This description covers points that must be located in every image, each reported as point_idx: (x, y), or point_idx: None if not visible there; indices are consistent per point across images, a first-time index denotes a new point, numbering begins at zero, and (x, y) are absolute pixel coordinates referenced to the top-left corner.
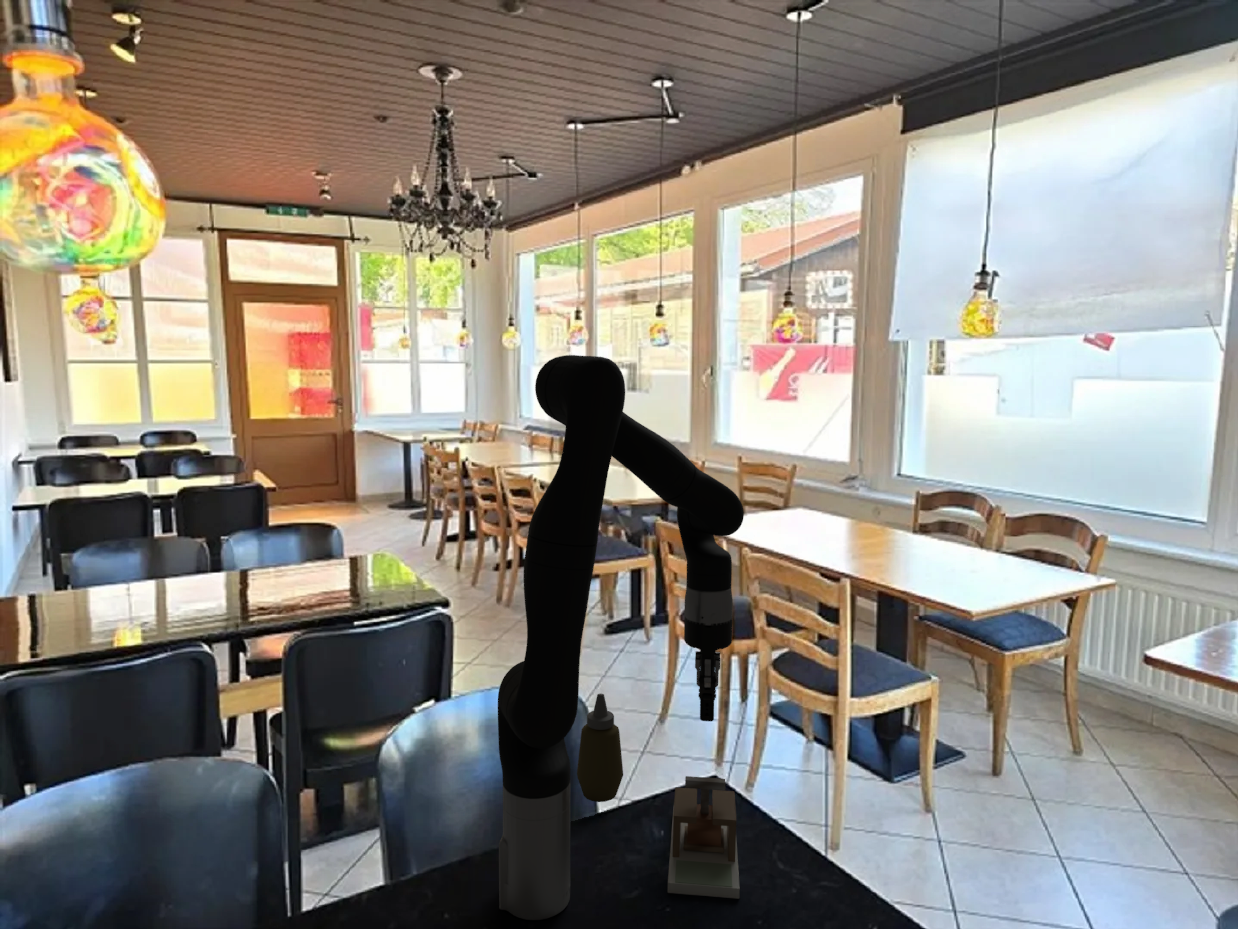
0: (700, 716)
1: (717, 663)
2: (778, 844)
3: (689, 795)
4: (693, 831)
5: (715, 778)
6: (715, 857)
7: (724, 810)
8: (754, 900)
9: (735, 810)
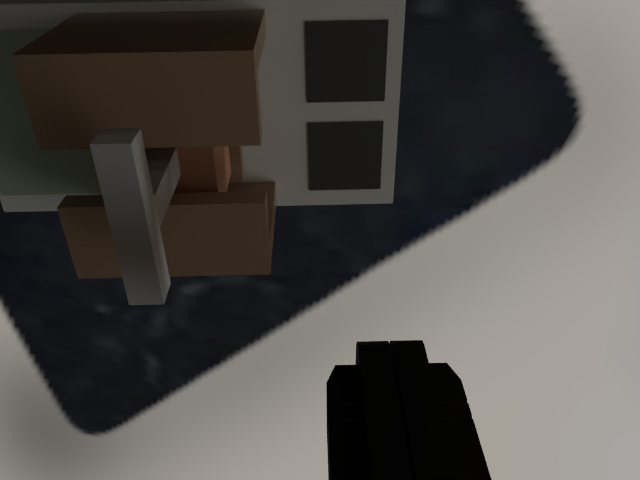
0: (360, 358)
1: None
2: (278, 289)
3: (197, 116)
4: None
5: (153, 270)
6: None
7: None
8: (28, 230)
9: None
